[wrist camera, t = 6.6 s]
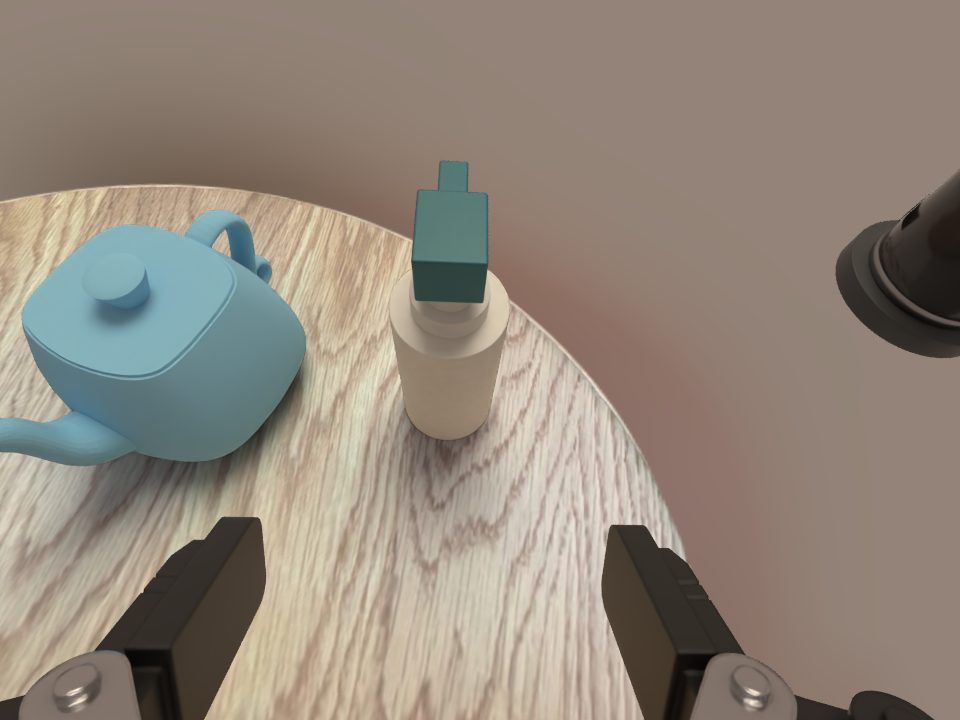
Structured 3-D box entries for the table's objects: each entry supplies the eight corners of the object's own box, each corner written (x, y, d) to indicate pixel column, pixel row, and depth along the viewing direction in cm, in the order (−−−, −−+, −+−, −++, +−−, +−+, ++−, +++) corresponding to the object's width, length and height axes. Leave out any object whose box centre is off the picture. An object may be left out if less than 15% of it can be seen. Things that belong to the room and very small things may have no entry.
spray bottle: (491, 441, 32) (528, 295, 18) (401, 439, 32) (367, 289, 18) (490, 347, 35) (521, 160, 21) (409, 344, 35) (385, 152, 21)
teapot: (-209, 401, 20) (122, 127, 28) (1, 474, 29) (203, 253, 37) (48, 542, 18) (322, 207, 26) (183, 571, 28) (354, 318, 36)
